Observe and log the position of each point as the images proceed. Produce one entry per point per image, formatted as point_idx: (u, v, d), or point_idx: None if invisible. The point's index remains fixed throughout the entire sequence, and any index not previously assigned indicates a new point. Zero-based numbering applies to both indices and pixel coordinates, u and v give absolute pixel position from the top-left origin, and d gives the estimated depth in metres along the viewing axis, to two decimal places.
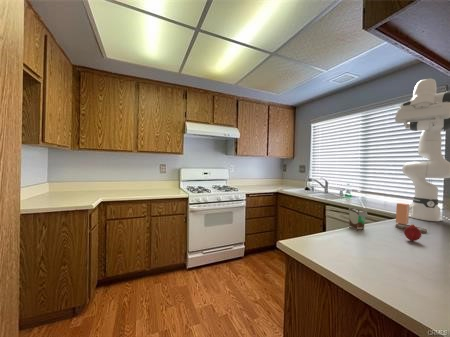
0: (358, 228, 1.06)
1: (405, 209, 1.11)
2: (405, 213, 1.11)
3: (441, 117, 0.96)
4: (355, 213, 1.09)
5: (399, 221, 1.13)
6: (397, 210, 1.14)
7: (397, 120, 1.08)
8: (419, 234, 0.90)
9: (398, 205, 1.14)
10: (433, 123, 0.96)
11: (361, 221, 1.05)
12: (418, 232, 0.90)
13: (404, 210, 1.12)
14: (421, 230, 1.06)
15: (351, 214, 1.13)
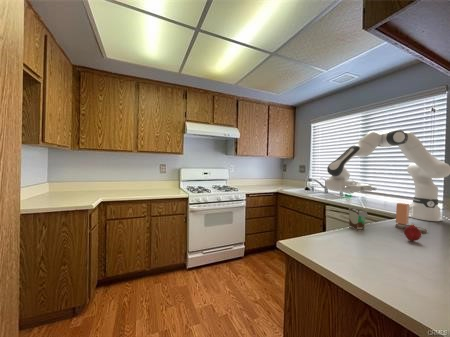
0: (358, 228, 1.06)
1: (405, 209, 1.11)
2: (405, 213, 1.11)
3: (360, 188, 1.25)
4: (355, 213, 1.09)
5: (399, 221, 1.13)
6: (397, 210, 1.14)
7: None
8: (419, 234, 0.90)
9: (398, 205, 1.14)
10: (370, 190, 1.24)
11: (361, 221, 1.05)
12: (418, 232, 0.90)
13: (404, 210, 1.12)
14: (421, 230, 1.06)
15: (351, 214, 1.13)
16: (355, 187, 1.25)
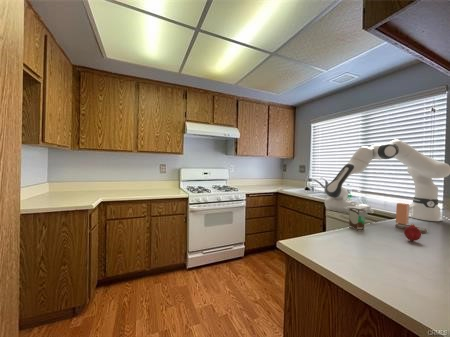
0: (358, 228, 1.06)
1: (405, 209, 1.11)
2: (405, 213, 1.11)
3: None
4: (355, 213, 1.09)
5: (399, 221, 1.13)
6: (397, 210, 1.14)
7: None
8: (419, 234, 0.90)
9: (398, 205, 1.14)
10: (371, 212, 1.26)
11: (361, 221, 1.05)
12: (418, 232, 0.90)
13: (404, 210, 1.12)
14: (421, 230, 1.06)
15: (351, 214, 1.13)
16: None
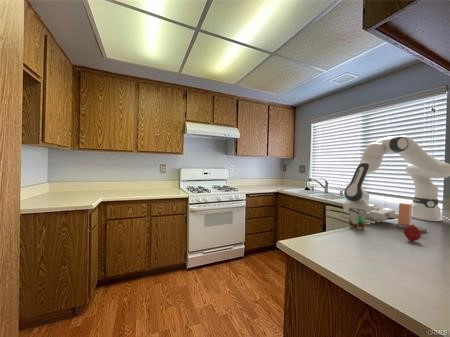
0: (358, 228, 1.06)
1: (408, 209, 1.10)
2: (408, 213, 1.10)
3: (385, 215, 1.15)
4: (355, 213, 1.09)
5: (401, 221, 1.12)
6: (399, 210, 1.13)
7: None
8: (419, 234, 0.90)
9: (400, 205, 1.13)
10: None
11: (361, 221, 1.05)
12: (418, 232, 0.90)
13: (406, 211, 1.11)
14: (421, 230, 1.06)
15: (351, 214, 1.13)
16: (379, 214, 1.15)
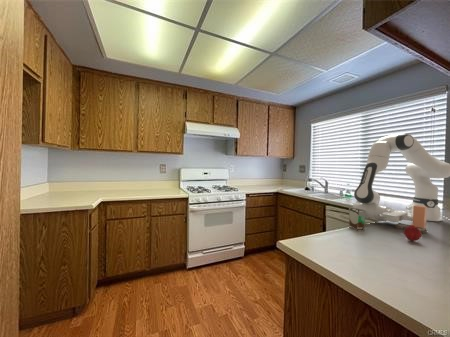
0: (358, 228, 1.06)
1: (423, 212, 1.05)
2: (423, 216, 1.05)
3: (398, 218, 1.10)
4: (355, 213, 1.09)
5: (416, 224, 1.08)
6: (414, 213, 1.08)
7: (407, 216, 1.19)
8: (419, 234, 0.90)
9: (415, 208, 1.08)
10: (411, 220, 1.10)
11: (361, 221, 1.05)
12: (418, 232, 0.90)
13: (421, 213, 1.06)
14: (421, 230, 1.06)
15: (351, 214, 1.13)
16: (393, 217, 1.10)
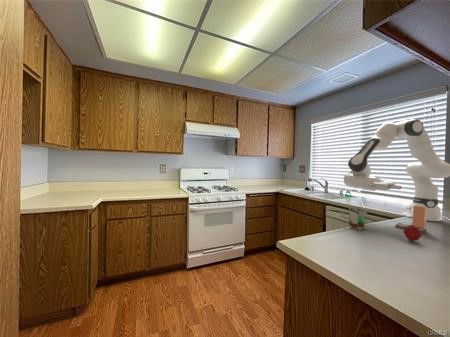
0: (358, 228, 1.06)
1: (423, 212, 1.05)
2: (423, 216, 1.05)
3: (387, 186, 1.15)
4: (355, 213, 1.09)
5: (416, 224, 1.07)
6: (414, 213, 1.08)
7: None
8: (419, 234, 0.90)
9: (415, 208, 1.08)
10: None
11: (361, 221, 1.05)
12: (418, 232, 0.90)
13: (421, 213, 1.06)
14: (421, 230, 1.06)
15: (351, 214, 1.13)
16: (382, 185, 1.14)
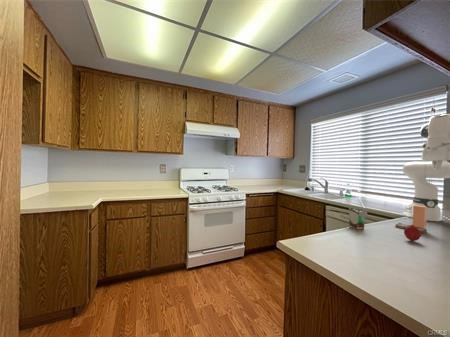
0: (358, 228, 1.06)
1: (423, 212, 1.05)
2: (423, 216, 1.05)
3: None
4: (355, 213, 1.09)
5: (416, 224, 1.07)
6: (414, 213, 1.08)
7: (425, 160, 1.21)
8: (419, 234, 0.90)
9: (415, 208, 1.08)
10: (435, 167, 1.12)
11: (361, 221, 1.05)
12: (418, 232, 0.90)
13: (421, 213, 1.06)
14: (421, 230, 1.06)
15: (351, 214, 1.13)
16: None
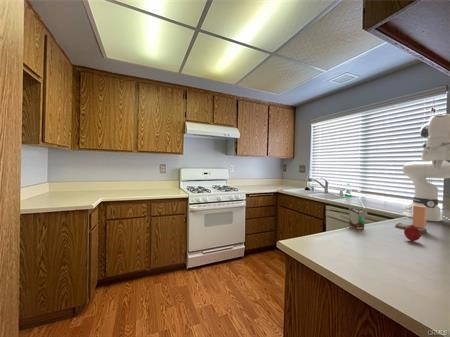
0: (358, 228, 1.06)
1: (423, 212, 1.05)
2: (423, 216, 1.05)
3: None
4: (355, 213, 1.09)
5: (416, 224, 1.07)
6: (414, 213, 1.08)
7: (425, 160, 1.21)
8: (419, 234, 0.90)
9: (415, 208, 1.08)
10: (435, 167, 1.12)
11: (361, 221, 1.05)
12: (418, 232, 0.90)
13: (421, 213, 1.06)
14: (421, 230, 1.06)
15: (351, 214, 1.13)
16: None
